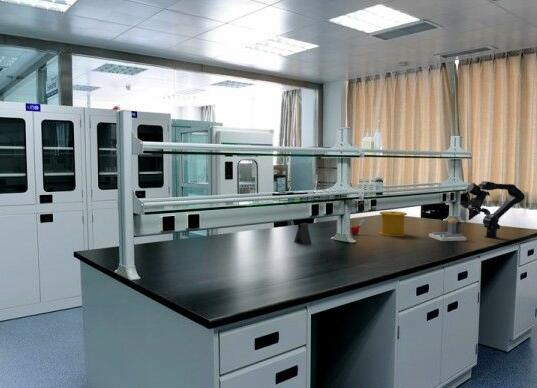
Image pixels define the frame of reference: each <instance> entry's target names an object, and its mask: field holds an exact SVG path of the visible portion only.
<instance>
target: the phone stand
mask: <svg viewBox="0 0 537 388" xmlns="http://www.w3.org/2000/svg"><path fill="white" fill-rule="evenodd" d="M293 242H294V243H295V242H296V244H300V243H301V245H309V244H312V238H311V235H310V231H309V224H308V223H307V222H303V223H298V224H297V231H296V234H295V237H294V241H293ZM308 243H309V244H308Z"/></svg>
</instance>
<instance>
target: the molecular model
mask: <svg viewBox="0 0 537 388" xmlns="http://www.w3.org/2000/svg"><path fill="white" fill-rule="evenodd" d="M366 224H367V221H366V220H365V219H362V220H360V223H359V224H358V225H357V226H353V225H352V224H351V223H350V227H349V229H350V233H351V234H352V235H357V234H359V231H360V228H361V227H362V226H365V225H366Z"/></svg>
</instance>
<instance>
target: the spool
mask: <svg viewBox="0 0 537 388" xmlns="http://www.w3.org/2000/svg"><path fill="white" fill-rule="evenodd" d="M407 213H408V212H404V211H392V210H391V211H385V210H384V211H380V212H379V214H380V215H381V230H380V231H379V232H378V234H379V235H382V236H388V237H405V236H407V233H406V232H405V216H407Z"/></svg>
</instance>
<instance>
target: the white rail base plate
mask: <svg viewBox="0 0 537 388" xmlns="http://www.w3.org/2000/svg"><path fill="white" fill-rule="evenodd" d="M446 232H447V231H432V233H429V234H428V237H429V238H433V239H435V240H437V241H441V242H457V241H459V242H462V241H463V242H464V241H467V240H468V239H467V237H466V236H463V234H462V233H456V234H446Z"/></svg>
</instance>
